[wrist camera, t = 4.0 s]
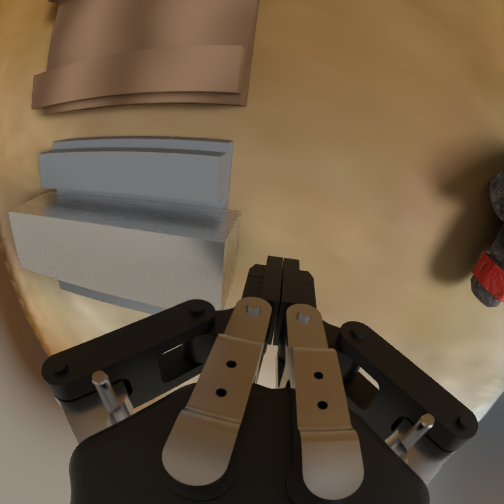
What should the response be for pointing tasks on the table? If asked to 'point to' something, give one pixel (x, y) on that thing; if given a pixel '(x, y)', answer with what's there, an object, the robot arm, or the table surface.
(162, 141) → the grey channel bracket
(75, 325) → the table surface
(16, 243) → the block
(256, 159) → the table surface
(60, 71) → the cradle
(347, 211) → the table surface
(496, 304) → the valve
